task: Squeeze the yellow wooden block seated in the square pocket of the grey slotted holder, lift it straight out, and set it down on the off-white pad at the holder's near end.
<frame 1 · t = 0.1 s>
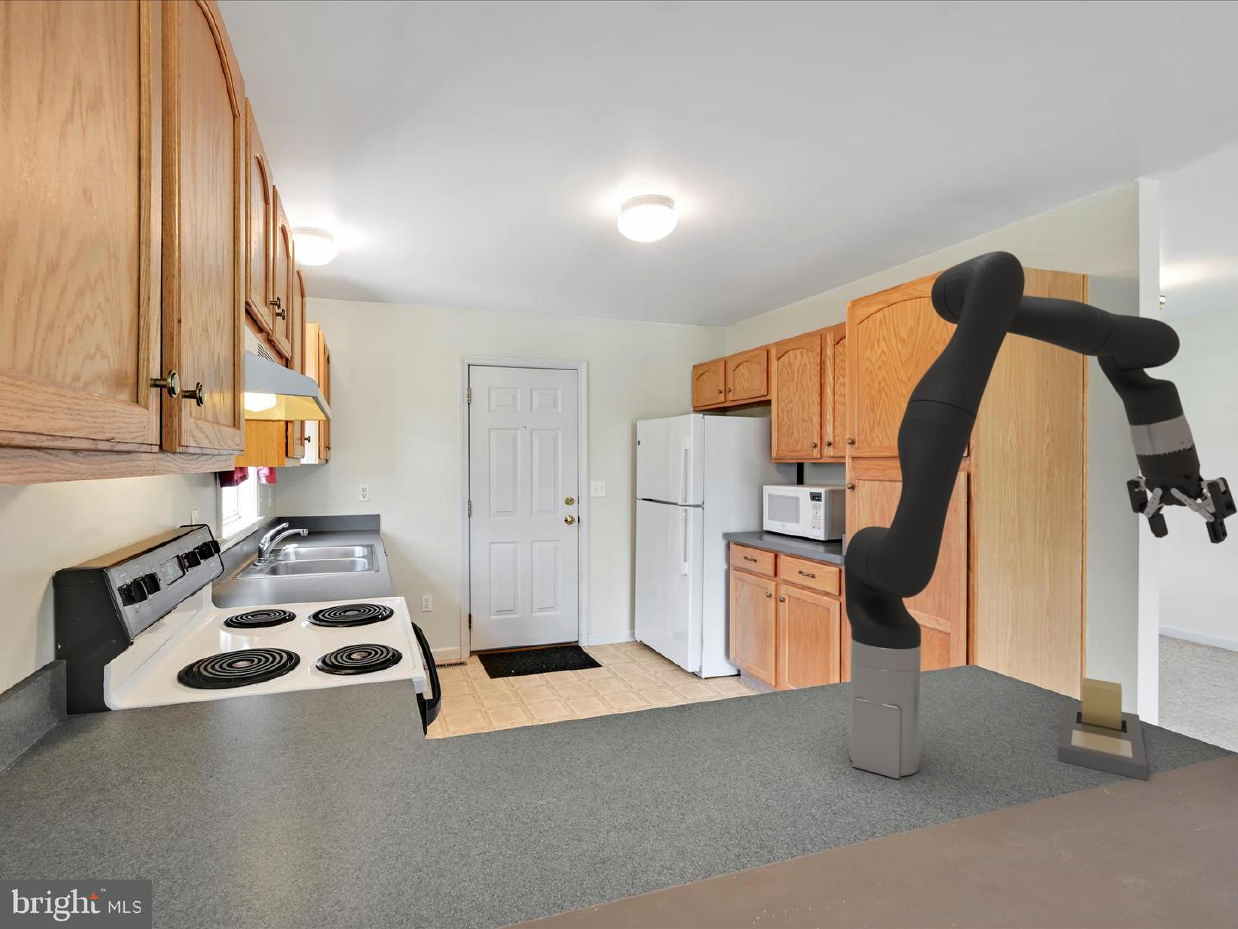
hand: (1189, 539, 108), 31 cm above the counter, tool tilted 20°, fingers open, 8 cm apart
yellow wooden block: (1101, 735, 106), resting in grey slotted holder
grey slotted holder: (1101, 742, 102), on the counter
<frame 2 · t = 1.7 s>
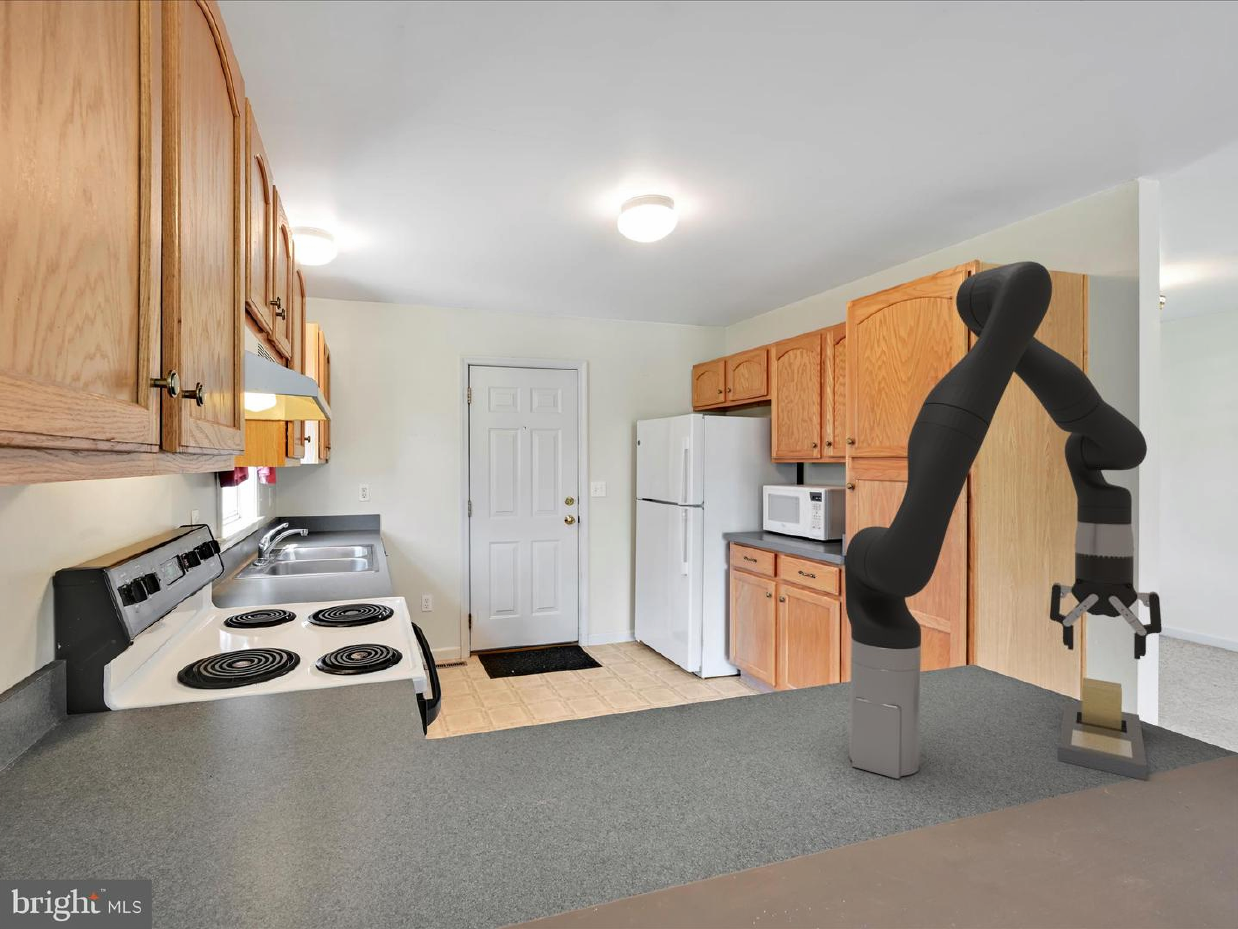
hand: (1103, 653, 106), 13 cm above the counter, tool pointing down, fingers open, 8 cm apart
nothing on the counter moved.
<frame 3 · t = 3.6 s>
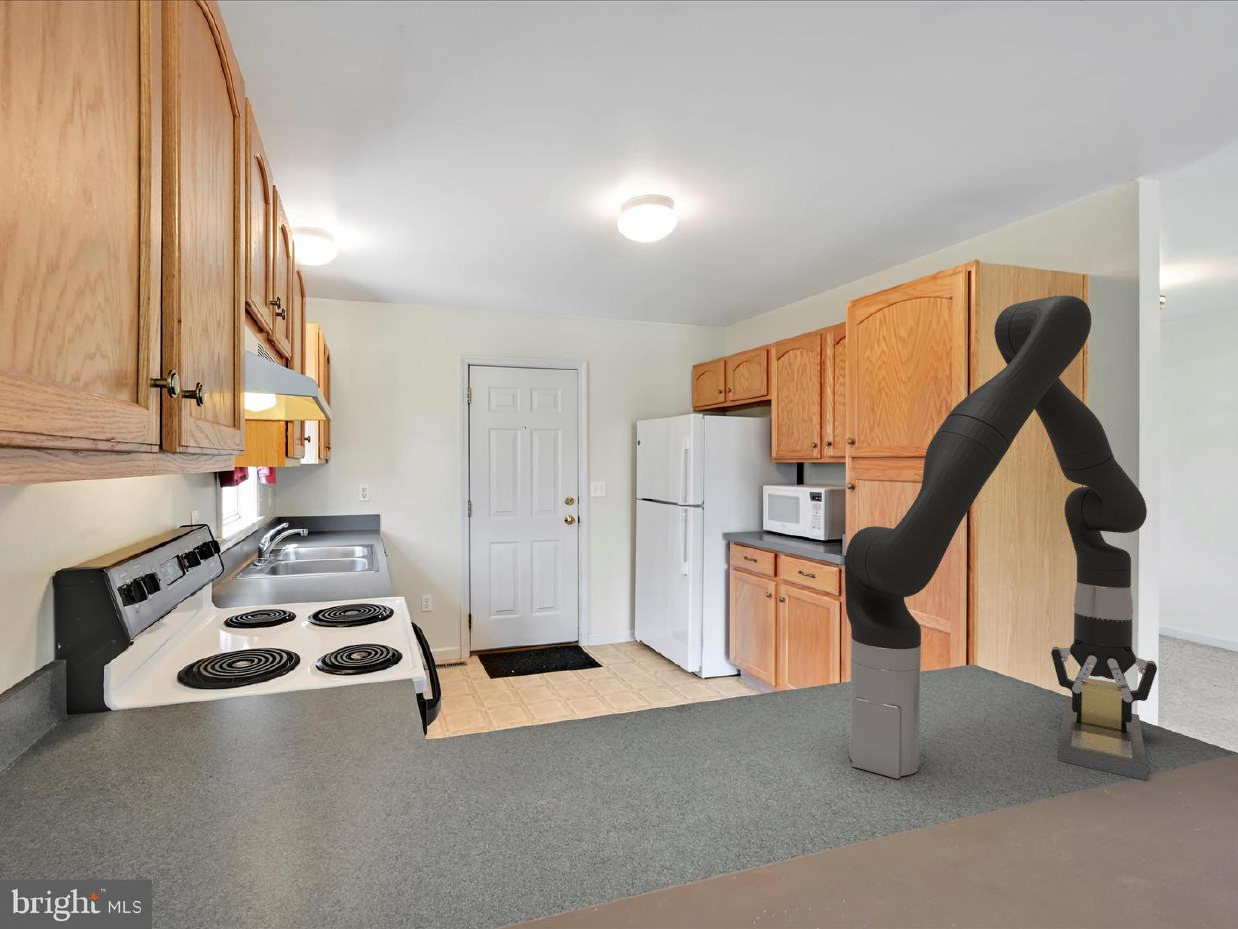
hand: (1101, 719, 106), 2 cm above the counter, tool pointing down, fingers closed on yellow wooden block, 5 cm apart
yellow wooden block: (1100, 734, 106), resting in grey slotted holder, touching gripper
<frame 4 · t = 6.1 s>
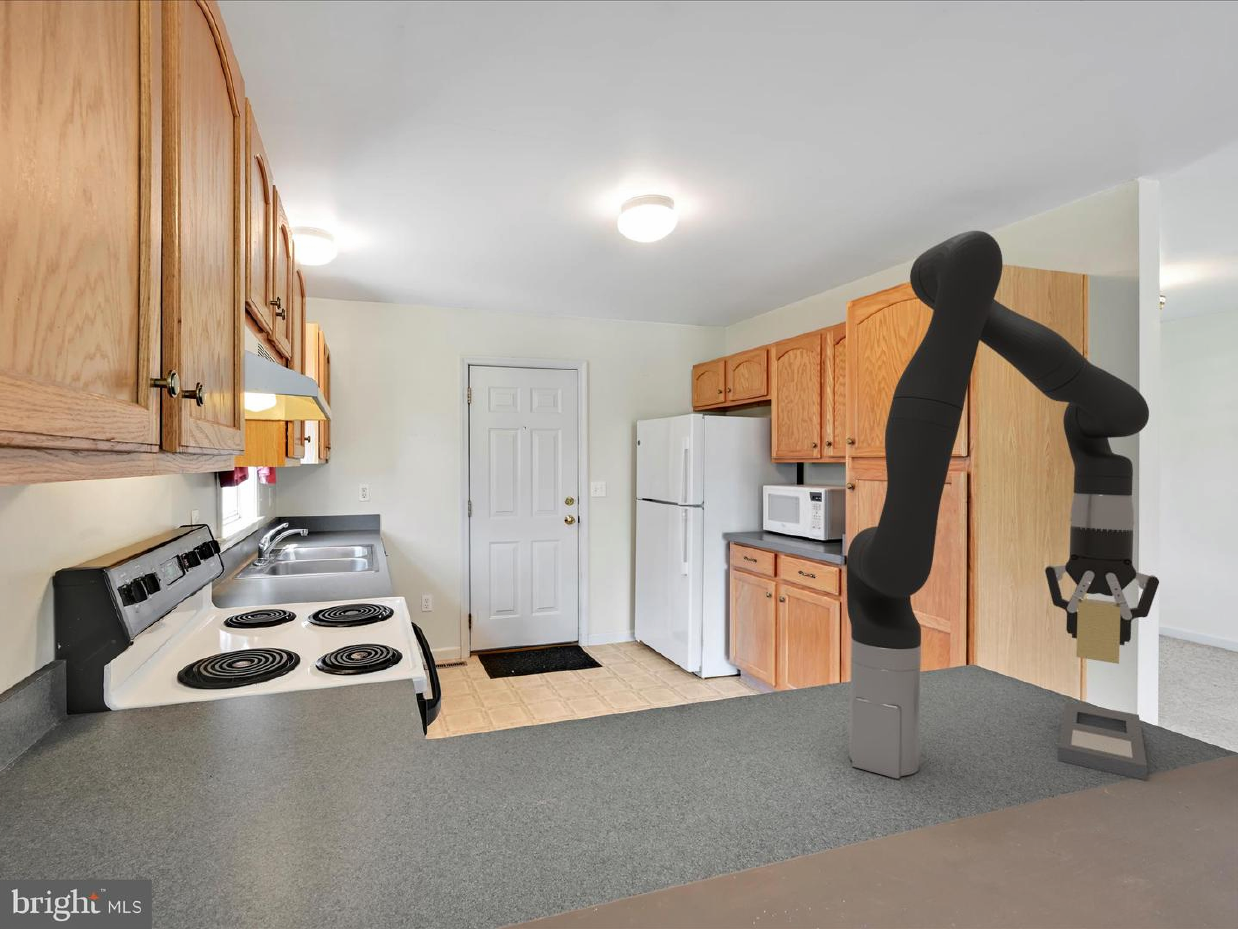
hand: (1097, 640, 98), 17 cm above the counter, tool pointing down, fingers closed on yellow wooden block, 5 cm apart
yellow wooden block: (1096, 656, 98), point 14 cm above the counter, touching gripper
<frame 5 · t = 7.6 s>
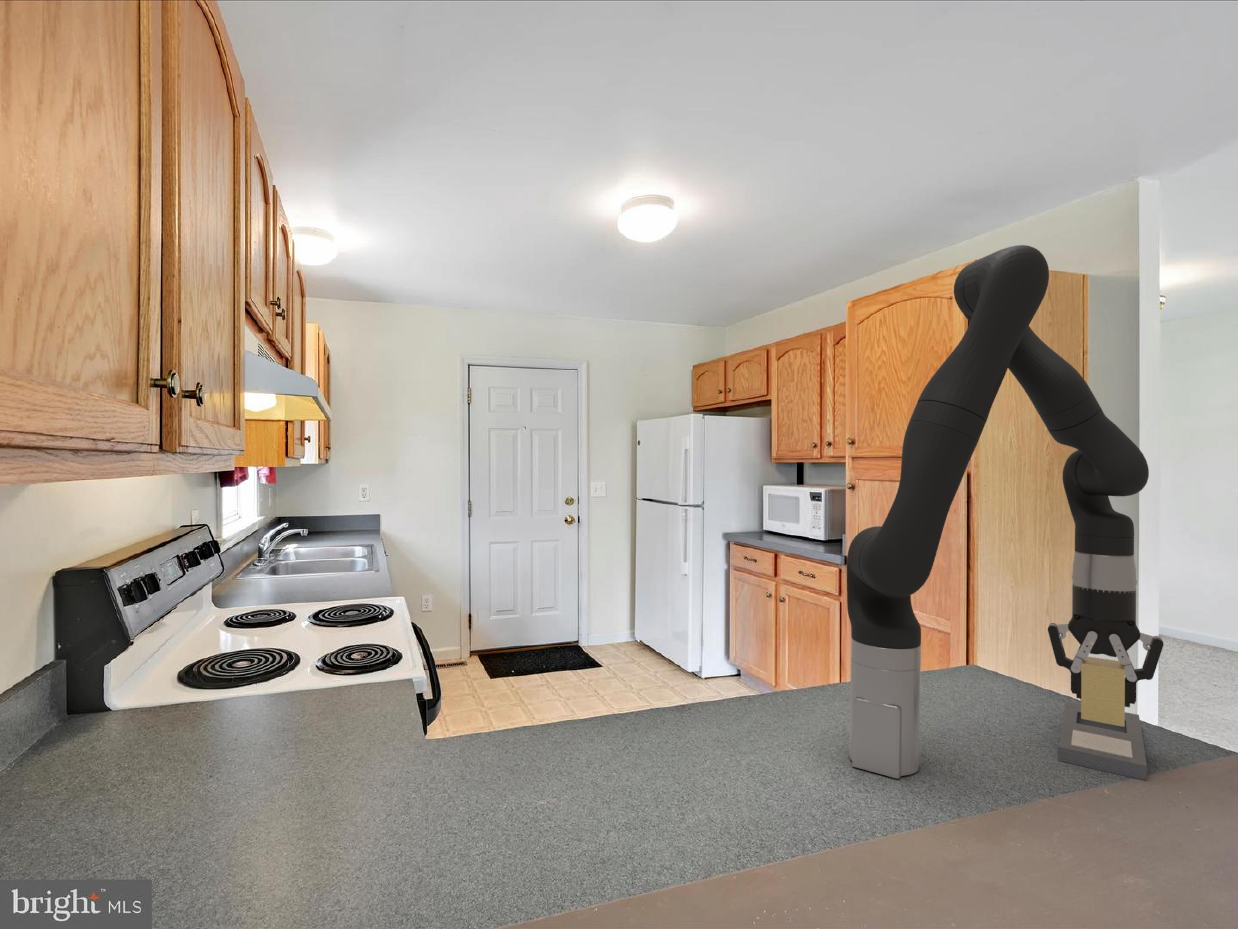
hand: (1102, 701, 97), 8 cm above the counter, tool pointing down, fingers closed on yellow wooden block, 5 cm apart
yellow wooden block: (1102, 717, 97), point 6 cm above the counter, touching gripper
when the fingers open (6 cm above the counter, at t = 8.9 s): yellow wooden block drops 1 cm, resting on grey slotted holder.
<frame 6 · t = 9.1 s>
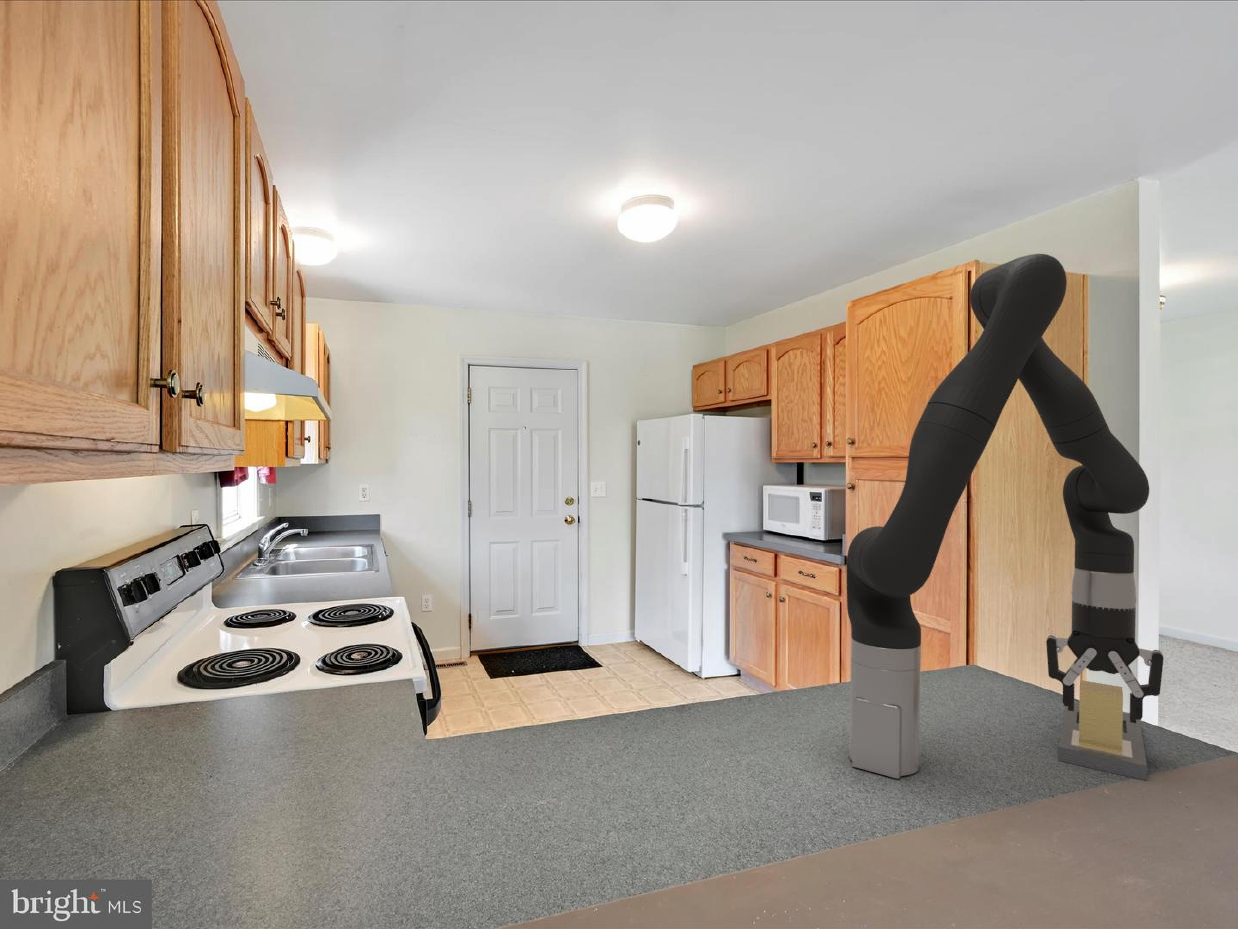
hand: (1101, 715, 97), 6 cm above the counter, tool pointing down, fingers open, 6 cm apart
yellow wooden block: (1100, 742, 97), point 2 cm above the counter, touching grey slotted holder
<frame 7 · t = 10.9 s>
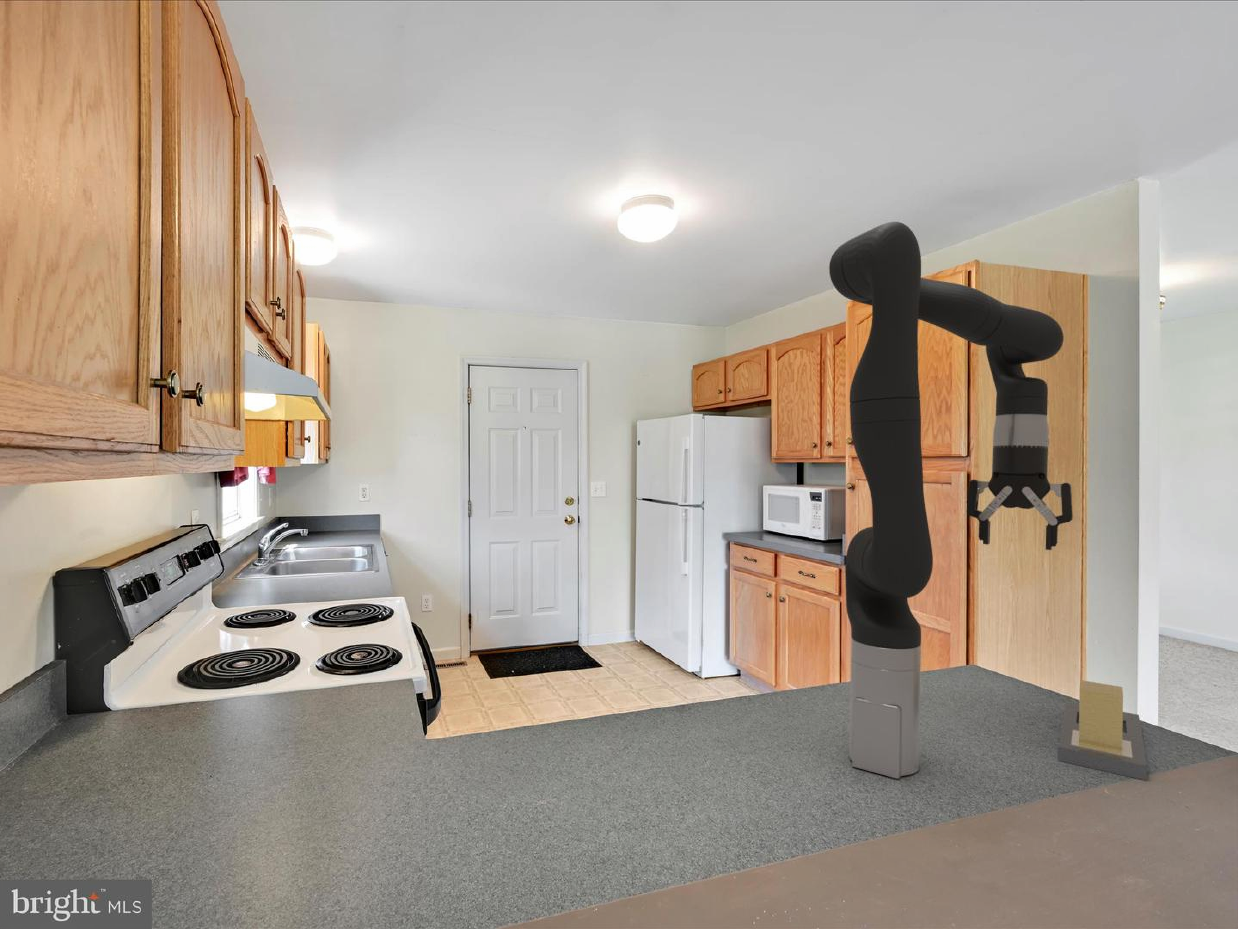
hand: (1016, 546, 105), 30 cm above the counter, tool pointing down, fingers open, 8 cm apart
nothing on the counter moved.
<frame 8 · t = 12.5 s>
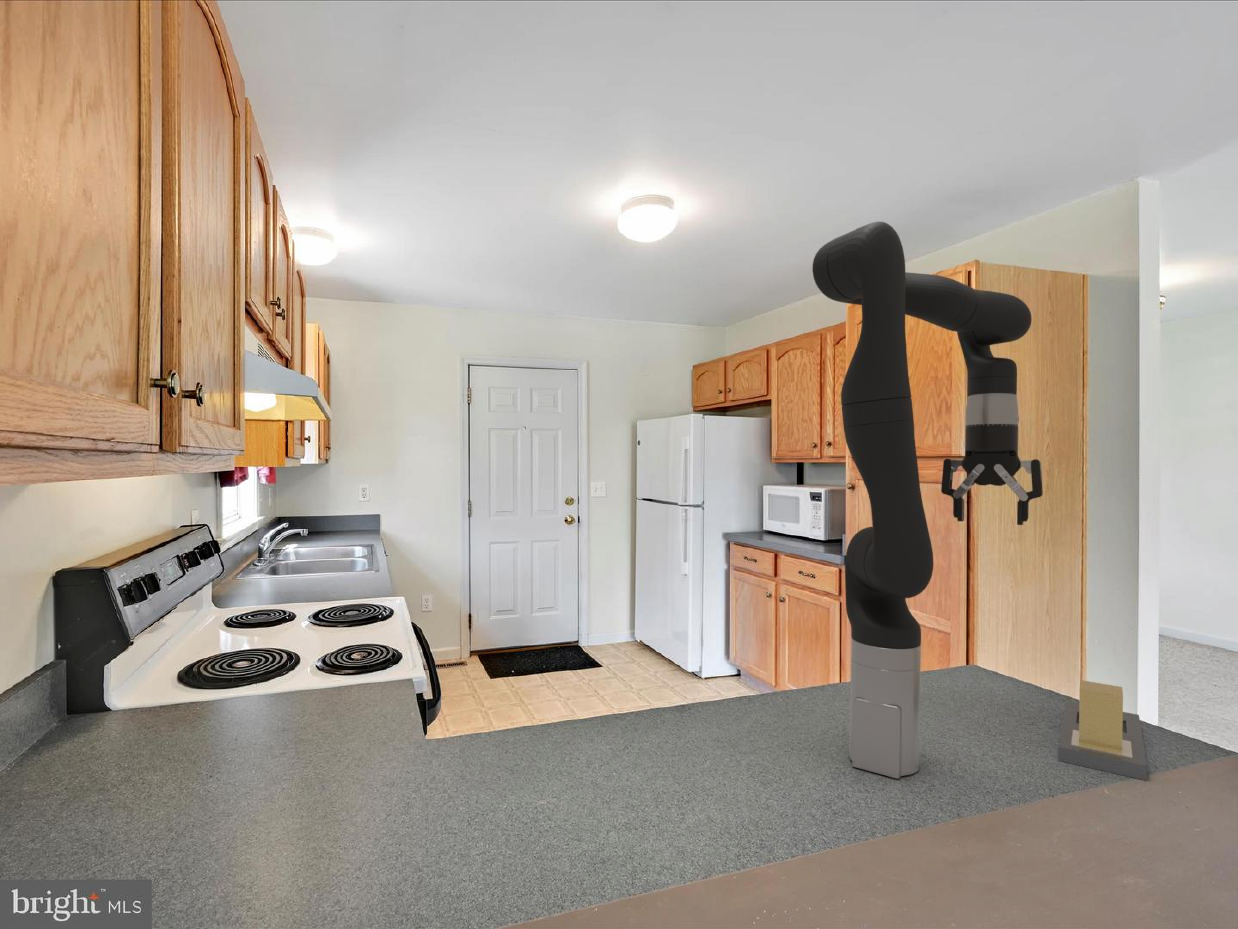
hand: (989, 523, 108), 33 cm above the counter, tool pointing down, fingers open, 8 cm apart
nothing on the counter moved.
at the end: yellow wooden block inside the target area on the grey slotted holder (0.1 cm from its centre), point 2.2 cm above the grey slotted holder's base; yellow wooden block tilted 0°; the gripper is holding nothing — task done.
